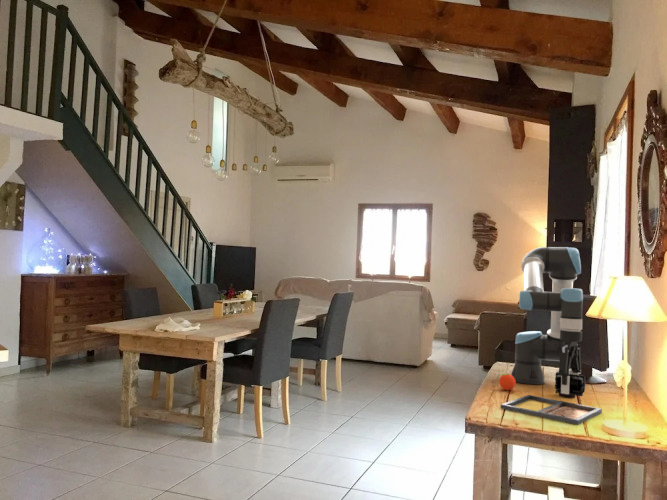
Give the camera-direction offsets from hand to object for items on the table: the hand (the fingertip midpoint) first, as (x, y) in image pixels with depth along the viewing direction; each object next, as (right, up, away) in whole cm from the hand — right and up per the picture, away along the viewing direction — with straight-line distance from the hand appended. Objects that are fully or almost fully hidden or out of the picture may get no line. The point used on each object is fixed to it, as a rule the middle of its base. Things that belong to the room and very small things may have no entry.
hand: (569, 391), depth 209 cm
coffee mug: (+10, -9, +28) cm, 32 cm away
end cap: (0, -1, 0) cm, 1 cm away
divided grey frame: (-5, -8, +5) cm, 11 cm away
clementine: (-12, -9, +38) cm, 41 cm away
